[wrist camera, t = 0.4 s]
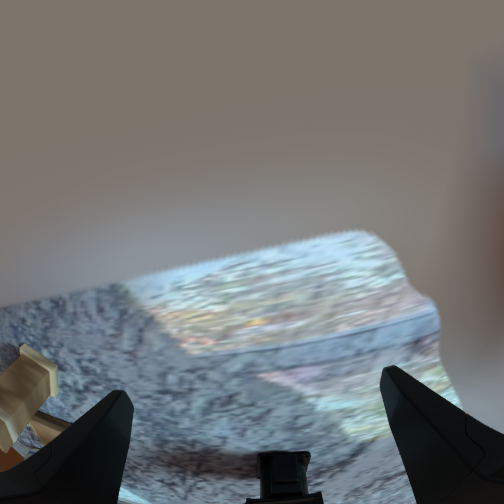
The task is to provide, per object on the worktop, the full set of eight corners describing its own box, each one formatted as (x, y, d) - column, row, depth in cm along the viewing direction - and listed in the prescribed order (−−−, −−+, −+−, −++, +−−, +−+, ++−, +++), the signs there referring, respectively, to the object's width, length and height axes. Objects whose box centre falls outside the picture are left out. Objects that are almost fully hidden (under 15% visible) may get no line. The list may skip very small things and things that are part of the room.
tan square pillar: (57, 365, 26) (-1, 434, 14) (58, 392, 28) (11, 458, 15) (24, 343, 26) (-37, 401, 13) (27, 372, 27) (-24, 429, 15)
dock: (120, 473, 32) (115, 484, 30) (61, 452, 33) (55, 462, 30) (95, 429, 29) (88, 441, 27) (32, 406, 29) (25, 416, 27)
